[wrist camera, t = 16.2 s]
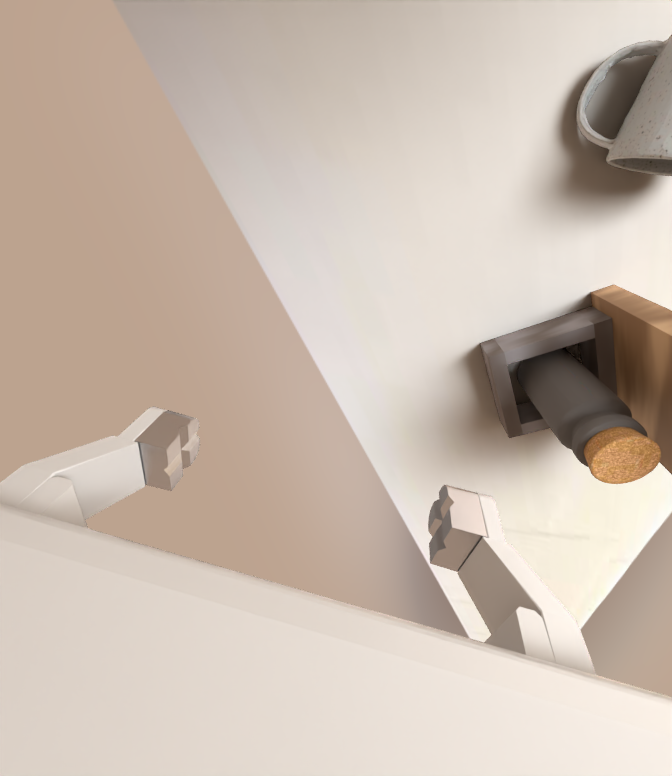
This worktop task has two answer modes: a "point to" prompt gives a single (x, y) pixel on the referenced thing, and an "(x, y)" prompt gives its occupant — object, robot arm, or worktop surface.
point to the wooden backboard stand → (597, 361)
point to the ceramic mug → (638, 113)
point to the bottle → (588, 417)
